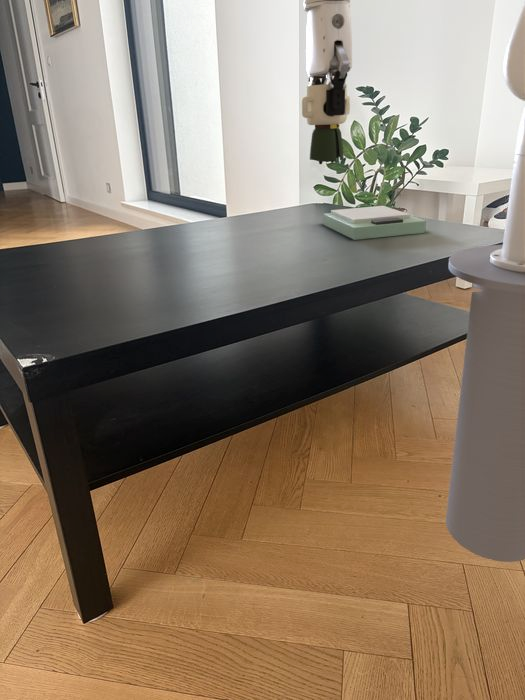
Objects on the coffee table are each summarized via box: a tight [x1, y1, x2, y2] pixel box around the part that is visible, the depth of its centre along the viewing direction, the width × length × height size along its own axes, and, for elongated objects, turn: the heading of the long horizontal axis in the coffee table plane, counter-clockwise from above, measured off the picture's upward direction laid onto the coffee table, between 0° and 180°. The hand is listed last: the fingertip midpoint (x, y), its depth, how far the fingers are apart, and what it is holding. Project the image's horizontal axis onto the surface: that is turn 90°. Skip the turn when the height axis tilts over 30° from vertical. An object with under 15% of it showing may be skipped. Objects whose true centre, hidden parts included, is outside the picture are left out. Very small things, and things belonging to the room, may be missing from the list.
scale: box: [322, 205, 427, 241], centre depth 120 cm, size 18×16×3 cm
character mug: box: [301, 83, 351, 165], centre depth 98 cm, size 11×7×13 cm, turn 126°
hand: (326, 114), depth 97 cm, fingers closed on character mug, 7 cm apart
